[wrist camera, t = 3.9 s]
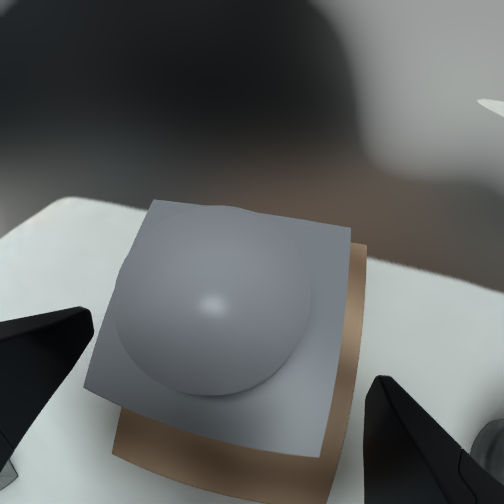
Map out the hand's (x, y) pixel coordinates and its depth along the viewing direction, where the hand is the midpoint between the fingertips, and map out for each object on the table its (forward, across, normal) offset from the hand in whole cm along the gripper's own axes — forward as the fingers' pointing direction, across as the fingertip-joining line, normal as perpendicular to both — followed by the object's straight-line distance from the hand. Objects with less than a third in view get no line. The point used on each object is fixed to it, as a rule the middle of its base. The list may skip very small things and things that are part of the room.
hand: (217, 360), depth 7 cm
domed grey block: (+6, 0, +4) cm, 7 cm away
